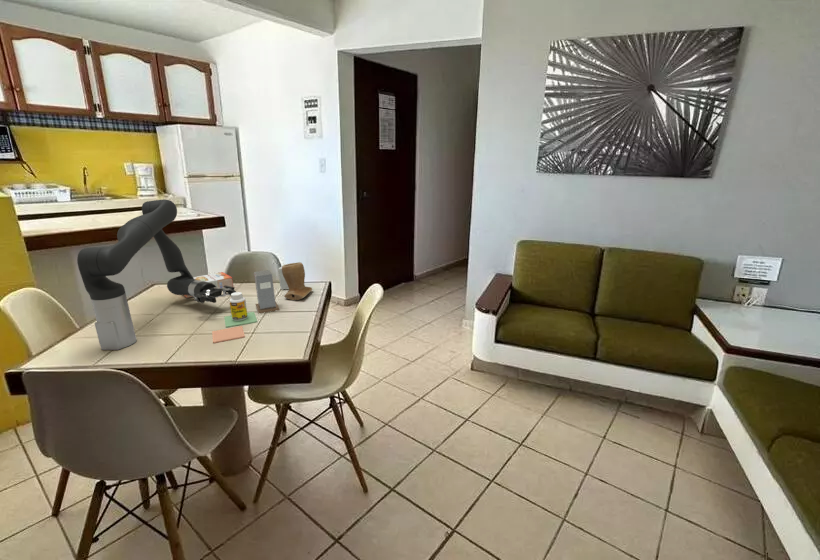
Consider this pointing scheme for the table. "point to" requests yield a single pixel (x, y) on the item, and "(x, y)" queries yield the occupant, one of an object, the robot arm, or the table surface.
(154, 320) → the table surface
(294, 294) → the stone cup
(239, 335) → the terracotta pad
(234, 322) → the green pad
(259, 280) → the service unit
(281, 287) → the small box
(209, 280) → the cracker box
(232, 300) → the supplement bottle
